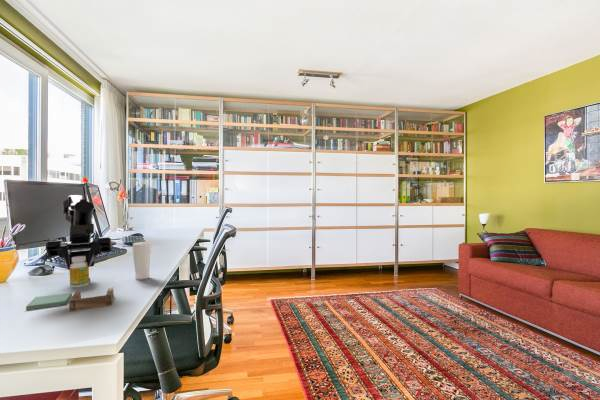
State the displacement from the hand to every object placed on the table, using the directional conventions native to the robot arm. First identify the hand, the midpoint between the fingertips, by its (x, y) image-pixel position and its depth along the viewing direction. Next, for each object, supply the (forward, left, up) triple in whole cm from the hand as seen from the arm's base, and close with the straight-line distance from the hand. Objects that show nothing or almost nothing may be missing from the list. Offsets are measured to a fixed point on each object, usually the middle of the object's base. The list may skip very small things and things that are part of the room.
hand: (78, 266), depth 107 cm
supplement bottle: (-1, 0, -7) cm, 7 cm away
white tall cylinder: (-18, +21, -11) cm, 30 cm away
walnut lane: (+7, +4, -11) cm, 14 cm away
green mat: (-2, -8, -11) cm, 14 cm away
